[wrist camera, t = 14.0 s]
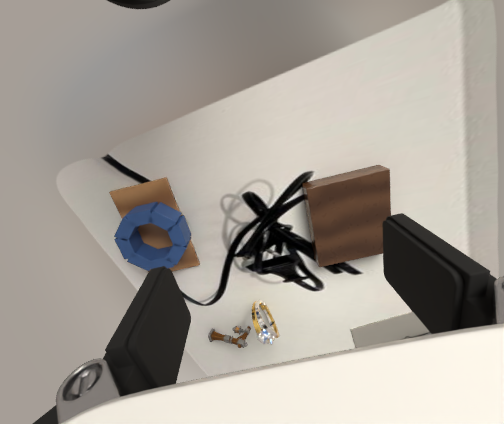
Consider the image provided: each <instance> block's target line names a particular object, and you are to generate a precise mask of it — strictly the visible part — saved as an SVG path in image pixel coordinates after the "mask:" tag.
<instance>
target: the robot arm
mask: <svg viewBox="0 0 504 424" xmlns="http://www.w3.org/2000/svg"><path fill="white" fill-rule="evenodd" d="M382 227H383V263H384V276H385V278H386V280H387V281H388V282H389V284H390V285H391V286H392V287H393V288H394V290H395V291H396V292H397V293H398V294H399V296H400V297H401V298H402V299H403V300H404V302H405V303H406V304H407V305H408V306H409V308H410V309H411V310H412V311H413V312H414V314H415V315H416V316H417V317H418V318H419V320H420V321H421V322H422V323H423V324H424V326H425V327H426V328H427V329H428V330H429V332H430V333H431V335H425V336H419V337H414V338H408V339H403V340H398V341H392V342H387V343H382V344H376V345H371V346H366V347H360V348H355V349H350V350H344V351H339V352H334V353H329V354H324V355H318V356H313V357H308V358H303V359H298V360H292V361H287V362H282V363H277V364H272V365H267V366H262V367H256V368H251V369H246V370H241V371H236V372H231V373H226V374H221V375H216V376H211V377H206V378H201V379H196V380H191V381H187V382H182V383H177V384H176V380H177V376H178V372H179V368H180V364H181V360H182V356H183V351H184V347H185V343H186V339H187V335H188V331H189V326H190V322H191V315H190V312H189V310H188V307H187V305H186V303H185V300H184V298H183V296H182V294H181V291H180V289H179V287H178V284H177V282H176V280H175V278H174V275H173V273H172V271H171V269H169V268H168V269H167V268H166V267H165V266H162V267H157V268H153V269H151V270H150V271H149V273H148V275H147V276H146V278H145V280H144V282H143V283H142V285H141V287H140V289H139V291H138V292H137V294H136V296H135V298H134V299H133V301H132V303H131V305H130V307H129V308H128V310H127V312H126V314H125V315H124V317H123V319H122V321H121V323H120V324H119V326H118V328H117V330H116V332H115V333H114V335H113V337H112V338H111V340H110V342H109V344H108V345H107V348H106V349H105V351H106V354H105V356H104V358H103V359H93V360H91V361H88V362H86V363H84V364H83V365H81V366H79V367H78V368H77V369H76V370H74V371H73V372H72V373H71V374H70V375H69V376H68V377H67V378H66V379H65V380H64V382H63V383H62V385H61V386H60V388H59V390H58V392H57V395H56V406H54V407H53V408H52V409H51V410H49V411H48V412H47V413H46V414H45V415H43V416H42V417H41V418H39V419H38V420H37V421H36V422H34V423H33V424H504V276H503V277H499V278H498V279H496V278H495V277H493V276H492V275H490V271H489V270H488V269H486V268H485V267H483V266H482V265H480V264H479V263H477V262H476V261H474V260H473V259H471V258H469V257H468V256H466V255H465V254H463V253H462V252H460V251H459V250H457V249H456V248H454V247H453V246H451V245H450V244H448V243H447V242H445V241H444V240H442V239H441V238H439V237H438V236H436V235H435V234H433V233H432V232H430V231H429V230H427V229H426V228H424V227H423V226H421V225H420V224H418V223H417V222H415V221H414V220H412V219H411V218H409V217H407V216H406V215H404V214H397V215H392V216H388V217H387V218H386V220H385V221H383V224H382Z"/></svg>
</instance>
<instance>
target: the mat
mask: <svg viewBox="0 0 504 424" xmlns="http://www.w3.org/2000/svg"><path fill="white" fill-rule="evenodd" d="M109 193H110V195H111V197H112V199H113V201H114V203H115V205H116V207H117V209H118V211H119V213H120V215H121V217H122V219H123V217H124V216H125V215H126V214H128V213H129V212H130V211H131V210H132V209H133V208H135V207H136V206H140V205H144V204H149V203H153V202H158V204H159V203H160V202H162V203H164V204H166V205H167V206H169V207H171V208H173V209H175V210H177V211H179V209H178V206H177V203H176V201H175V198H174V196H173V193H172V190H171V188H170V185H169V183H168V180H167V178H162V179H158V180H154V181H150V182H146V183H142V184H138V185H134V186H130V187H126V188H122V189H118V190H114V191H111V192H109ZM179 212H180V211H179ZM180 216H181V215H180ZM138 231H139V234H140V236H141V238H142V240H143V242H144V243H146V244H148V245H150V246H152V247H154V248H156V249H160V248H165V247H169V246H172V245H173V243H172V241H171V239H170V236H169V234H168V231H167V230H165V229H162V228H160V227H158V226H156V225H154V224H152V223H149V224H144V225H140V226H139V228H138ZM198 265H200V263H199V260H198V257H197V255H196V252H195V250H194V247H193V245H192V242H191V239H190V241H189V244H188V246H187V249H186V250H185V252H184V254H183V255H182V257H181V259H180V260H179V262H178V264H177V265H175V266H174V267H172V268H169V269H171V271H176V270H180V269H184V268H189V267H193V266H198ZM167 269H168V268H167ZM150 270H151V269H150ZM148 272H149V271H148Z"/></svg>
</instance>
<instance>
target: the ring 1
mask: <svg viewBox="0 0 504 424" xmlns="http://www.w3.org/2000/svg"><path fill="white" fill-rule="evenodd" d="M180 215H181V212H179V211H177V210H175V209H173V208H171V207H169V206H167V205H166V204H164V203H162V202H160V203H159V204H158V202H153V203H149V204H144V205H140V206H136V207H135V208H133V209H132V210H131V211H130V212H129V213H128V214H126V215H125V216H124V217H123V219H122V221H121V223H120V225H119V227H118V229H117V232H116V234H115V236H114V237H116V239H115V242H116V243H117V245H118V247H119V249H120V251H121V253H122V255H123V257H124V259H128V258H129V259H128V261H127V262H129V263H131V264H134V265H136V266H138V267H140V268H143V269H145V270H147V271H150V269H153V268H157V267H162V266H165V267H166V268H172V267H174V266H175V265H177V264H178V262H179V260H180V259H181V257H182V255H183V254H184V252H185V250H186V249H187V246H188V244H189V241H190V239H191V237H190V236H191V233H190V230H189V228H188V225H187V222H186V220H185V217H184V215H183V216H180ZM149 223H152V224H154V225H156V226H158V227H160V228H162V229H165V230H167V231H168V234H169V236H170V239H171V241H172V243H173V245H172V246H169V247H165V248H160V249H156V248H154V247H152V246H150V245H148V244H146V243H144V242H143V240H142V238H141V236H140V234H139V231H138V228H139V226H140V225H144V224H149Z"/></svg>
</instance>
